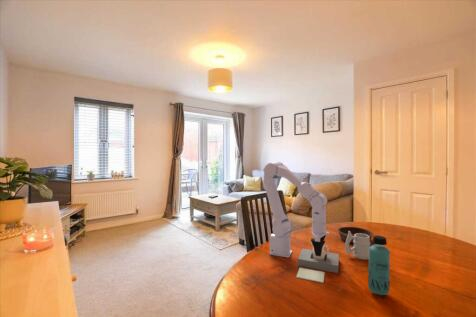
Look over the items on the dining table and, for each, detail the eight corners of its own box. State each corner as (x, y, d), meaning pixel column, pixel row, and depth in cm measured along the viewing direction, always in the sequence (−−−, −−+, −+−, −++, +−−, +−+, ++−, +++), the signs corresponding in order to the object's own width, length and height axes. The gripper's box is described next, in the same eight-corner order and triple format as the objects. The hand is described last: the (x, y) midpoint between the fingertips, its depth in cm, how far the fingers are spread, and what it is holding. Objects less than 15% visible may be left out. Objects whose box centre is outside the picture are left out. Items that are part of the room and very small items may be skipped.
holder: (297, 265, 104) (297, 259, 103) (302, 254, 115) (302, 248, 114) (338, 273, 97) (338, 265, 97) (338, 260, 108) (338, 254, 108)
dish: (352, 232, 147) (352, 223, 147) (384, 245, 126) (384, 235, 126) (328, 235, 141) (328, 227, 141) (358, 250, 120) (358, 240, 120)
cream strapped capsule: (310, 264, 105) (310, 244, 105) (311, 259, 109) (311, 240, 109) (328, 267, 102) (328, 246, 102) (328, 262, 107) (329, 242, 106)
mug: (374, 259, 109) (375, 233, 109) (349, 260, 108) (349, 234, 108) (364, 252, 117) (365, 228, 116) (341, 253, 116) (341, 228, 116)
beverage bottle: (363, 289, 86) (364, 233, 85) (381, 288, 86) (382, 233, 86) (375, 300, 79) (376, 240, 79) (394, 299, 80) (395, 239, 79)
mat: (296, 277, 94) (296, 276, 94) (299, 268, 101) (299, 267, 101) (323, 283, 90) (323, 281, 90) (324, 273, 97) (324, 272, 97)
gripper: (327, 227, 97) (327, 260, 97) (329, 218, 110) (329, 247, 111) (309, 225, 100) (309, 257, 100) (313, 216, 113) (313, 245, 114)
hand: (318, 252), depth 106 cm, fingers open, 7 cm apart
